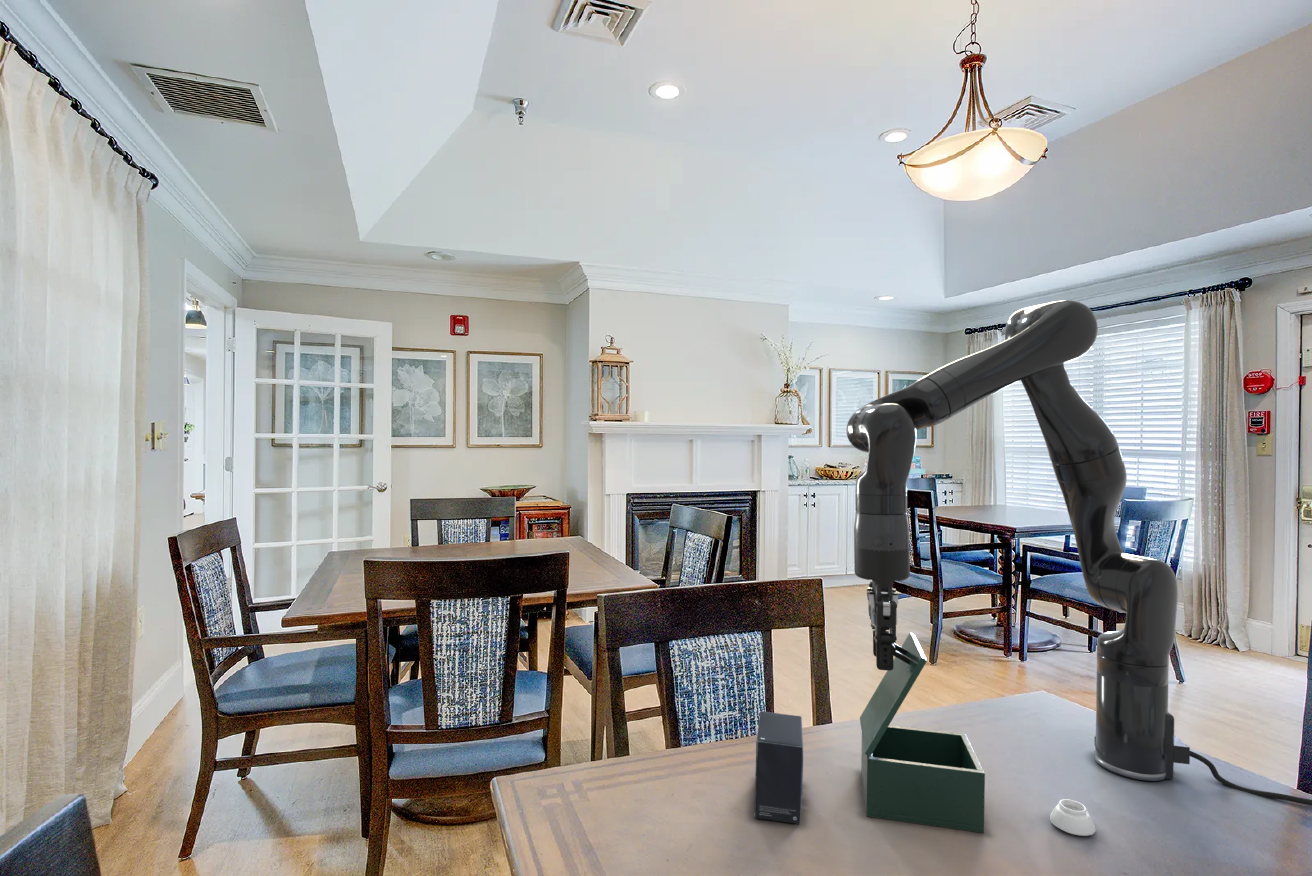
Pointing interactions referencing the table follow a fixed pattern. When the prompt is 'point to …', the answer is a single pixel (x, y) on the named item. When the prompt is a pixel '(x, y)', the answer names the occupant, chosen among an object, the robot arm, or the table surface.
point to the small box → (779, 768)
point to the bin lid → (891, 691)
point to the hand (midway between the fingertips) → (882, 662)
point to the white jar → (1072, 818)
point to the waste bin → (924, 779)
